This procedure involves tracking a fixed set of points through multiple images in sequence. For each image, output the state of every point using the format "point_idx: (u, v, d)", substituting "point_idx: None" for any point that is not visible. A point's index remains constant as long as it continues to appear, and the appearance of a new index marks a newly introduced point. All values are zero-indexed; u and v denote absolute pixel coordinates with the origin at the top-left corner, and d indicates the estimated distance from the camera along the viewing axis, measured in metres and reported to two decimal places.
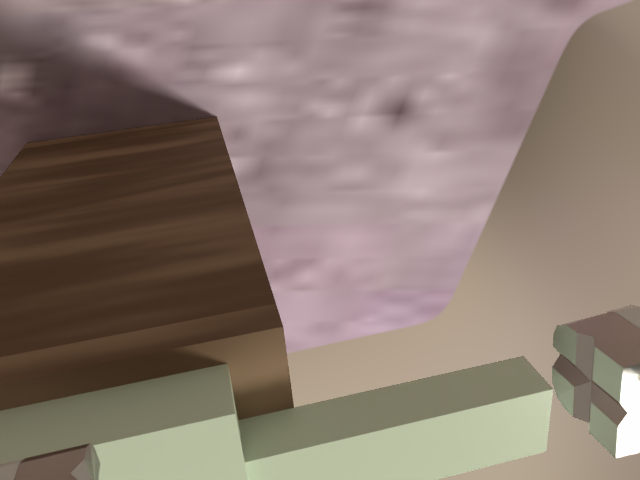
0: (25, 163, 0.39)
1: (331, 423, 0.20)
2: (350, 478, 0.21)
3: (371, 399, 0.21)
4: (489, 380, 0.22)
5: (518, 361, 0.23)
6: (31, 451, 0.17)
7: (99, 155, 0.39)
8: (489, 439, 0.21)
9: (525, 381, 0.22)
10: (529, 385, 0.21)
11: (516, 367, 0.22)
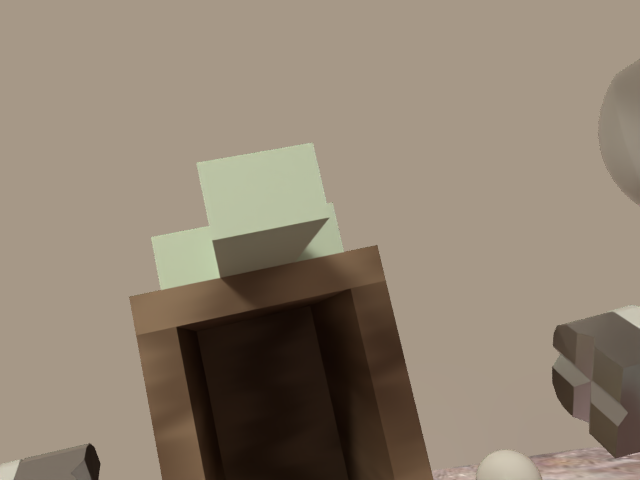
0: None
1: None
2: None
3: None
4: None
5: (325, 211, 0.15)
6: None
7: None
8: None
9: None
10: None
11: None
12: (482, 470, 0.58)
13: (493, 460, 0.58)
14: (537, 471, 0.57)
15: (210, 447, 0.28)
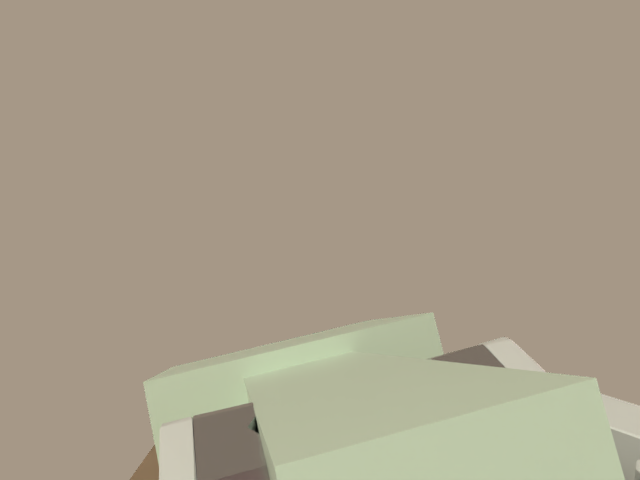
0: None
1: None
2: (299, 376, 0.12)
3: None
4: None
5: None
6: None
7: None
8: (365, 397, 0.07)
9: None
10: None
11: None
12: None
13: None
14: None
15: None
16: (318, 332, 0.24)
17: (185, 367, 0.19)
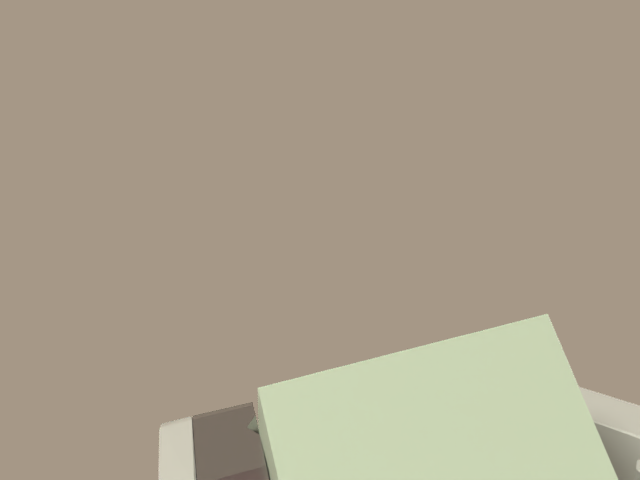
0: None
1: None
2: None
3: None
4: None
5: None
6: None
7: None
8: None
9: None
10: None
11: None
12: None
13: None
14: None
15: None
16: None
17: None
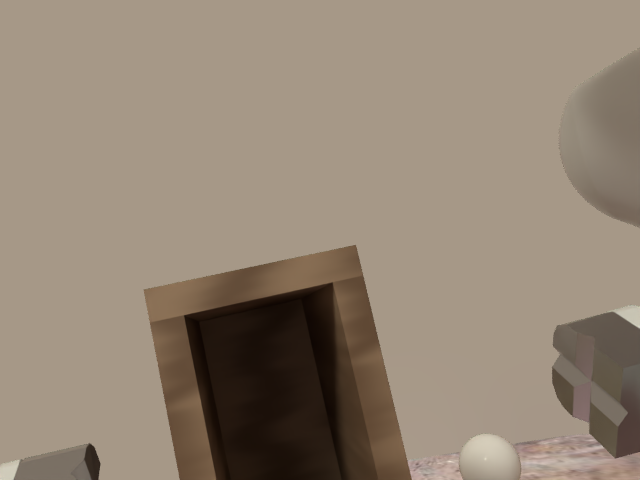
0: None
1: None
2: None
3: None
4: None
5: None
6: None
7: None
8: None
9: None
10: None
11: None
12: (464, 452, 0.62)
13: (475, 443, 0.62)
14: (515, 453, 0.62)
15: (212, 421, 0.32)
16: None
17: None
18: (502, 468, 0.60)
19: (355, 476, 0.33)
